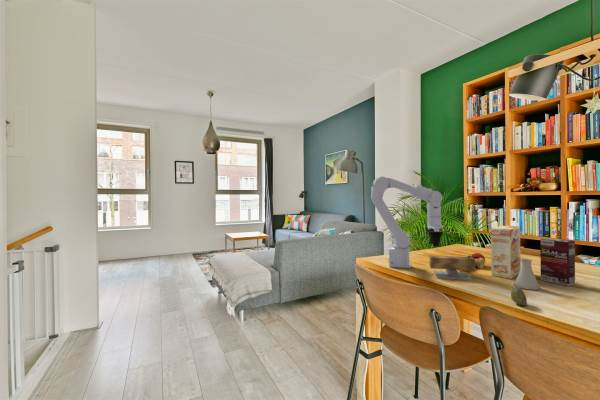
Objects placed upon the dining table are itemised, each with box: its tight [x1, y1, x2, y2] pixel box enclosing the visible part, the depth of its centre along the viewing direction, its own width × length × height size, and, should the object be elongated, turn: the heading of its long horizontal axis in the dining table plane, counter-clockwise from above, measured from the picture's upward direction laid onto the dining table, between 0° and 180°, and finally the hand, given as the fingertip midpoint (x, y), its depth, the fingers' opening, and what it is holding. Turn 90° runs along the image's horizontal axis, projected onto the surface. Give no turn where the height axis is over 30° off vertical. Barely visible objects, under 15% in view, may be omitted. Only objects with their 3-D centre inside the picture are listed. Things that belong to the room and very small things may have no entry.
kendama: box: [461, 252, 486, 272], centre depth 125 cm, size 8×6×18 cm
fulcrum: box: [433, 269, 473, 281], centre depth 113 cm, size 12×9×3 cm
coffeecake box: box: [490, 225, 521, 280], centre depth 115 cm, size 15×7×20 cm, turn 129°
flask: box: [513, 257, 541, 291], centre depth 98 cm, size 7×7×10 cm
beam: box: [428, 255, 476, 271], centre depth 113 cm, size 16×4×4 cm, turn 72°
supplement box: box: [539, 237, 576, 287], centre depth 102 cm, size 9×5×16 cm, turn 23°
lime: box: [510, 287, 528, 307], centre depth 82 cm, size 4×5×5 cm
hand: (434, 245), depth 129 cm, fingers open, 7 cm apart
